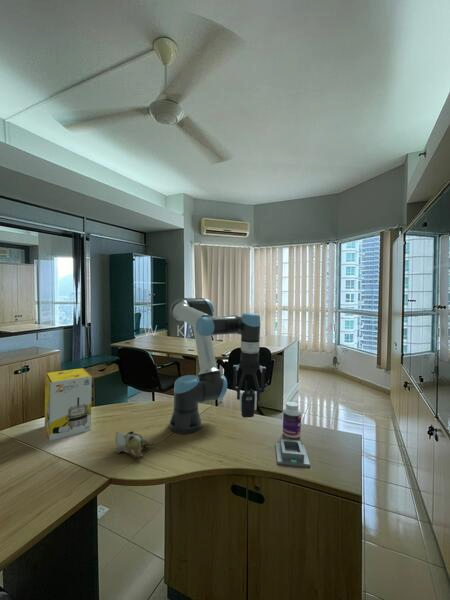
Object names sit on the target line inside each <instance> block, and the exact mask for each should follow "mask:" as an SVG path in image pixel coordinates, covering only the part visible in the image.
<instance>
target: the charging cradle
mask: <svg viewBox="0 0 450 600" xmlns="http://www.w3.org/2000/svg"><path fill="white" fill-rule="evenodd" d="M274 446H275V452H276V461H277V465H281V466H282V465H284V466H295V467H304V468H305V467H306V468H311V463H310V460H309V457H308V453H307V450H306V448H305V445H304V444H302V442H301V441H300V440H292V439H280V442H275V445H274Z"/></svg>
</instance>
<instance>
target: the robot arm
mask: <svg viewBox="0 0 450 600" xmlns="http://www.w3.org/2000/svg"><path fill="white" fill-rule="evenodd" d="M214 313H215V308H214V305H213V302H212V301H211V300H209V299H208V298H203V297H200V298H199V297H196V298H195V297H194V298H193V297H188V298H187V297H181V298H178V299H176V300H175V301H173V302H172V303H171V305H170V314H171V316H172V318H173V319H175V320H176V321H179V322H184V323H186V324H188V325H191V326H192V327H193V331H194V339H195V345H196V351H197V357H198V365H199V372H198V374H196V375H195V374H191V375H190V374H187V375H183V376H182V375H181V376H179V377H178V378H177V379H176V380H175V381H174V387H173V410H172V415H171V417H170V420H169V430H171V432H172V431H173V433H177V434H184V435H185V434H191V433H194V432H195V433H196V432H198V431H199V430H200V429H201V428H202V419H201V414H200V412H199V404H200V403H205V402H209V401H210V402H211V401H217V400H220V399H222V398H224V397H225V396H226V393H227V392H228V391H227V390H228V380H227V378H226V376H225V375H224V374H222V373H221V369H218V367H217V361H216V356H215V355H216V354H215V352H214V351H215V349H214V344H213V339H212V336H217V335H220V336H221V335H232V334H234V335H240V336H241V337H240V350H241V351H240V359H239V364H233V366H232V370H233V371H232V372H233V381H232V391H235V392H236V400H239V406H238V407H239V409H240V410H242V402H241V401H242V394H243V390H241V389H242V387H243V385H244V384H243V383H244V382H245V381H244V380H245V377H246V375H247V376H248V375H251V376H252V379H253V381H254V382H253V383H254V387H255V390H256V391H254V396H255V405H254V411H257V407H258V405H257V404H258V402H259V401H260V396H261V393H264V392H265V374H266V371H267V368H266V366H262V365H261V364H260V340H261V339H260V338H261V337H260V336H261V315H260V314H259V313H253V312H252V313H251V312H248V313H247V312H246V313H245V312H243V313H242V314H241V316H238V315H228V316H214V315H215V314H214ZM239 369H240V371H241V372H242V374H241V377H240V380H239V383H238V386H237V382H238V380H237V379H238V370H239ZM258 370H260V371H259V372H260V373H261V375H260V376H261V377H260V380H261V381H260V383H261V386H260V385H259V381H258V377H257V372H258Z"/></svg>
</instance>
